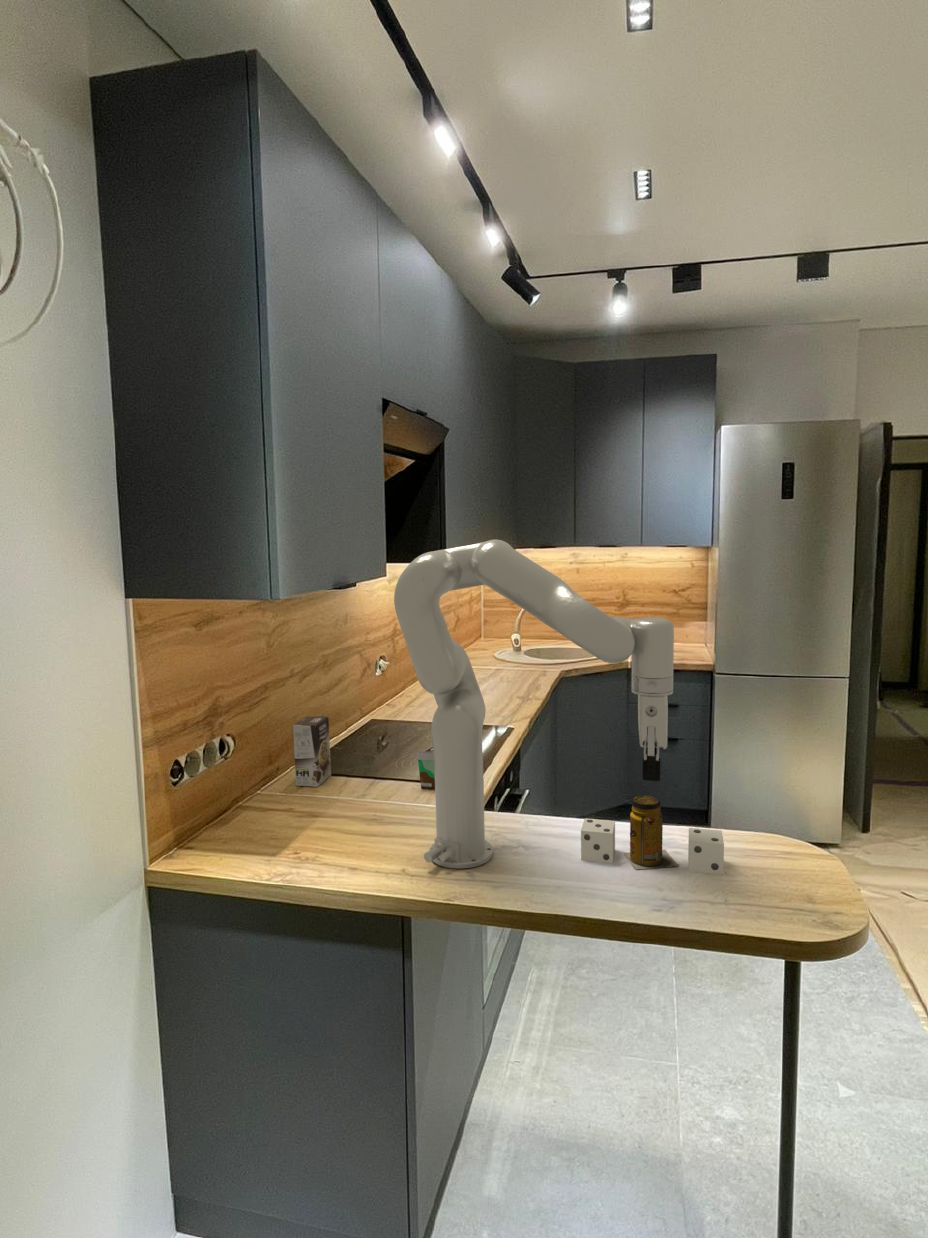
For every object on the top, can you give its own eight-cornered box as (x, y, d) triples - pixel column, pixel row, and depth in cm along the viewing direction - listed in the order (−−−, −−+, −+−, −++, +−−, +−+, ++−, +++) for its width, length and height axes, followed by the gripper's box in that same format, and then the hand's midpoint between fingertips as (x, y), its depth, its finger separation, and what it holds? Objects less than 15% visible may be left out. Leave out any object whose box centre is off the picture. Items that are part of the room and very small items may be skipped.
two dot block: (723, 875, 132) (724, 843, 131) (689, 872, 134) (689, 840, 133) (721, 860, 138) (721, 830, 137) (688, 857, 140) (688, 827, 139)
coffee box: (318, 787, 182) (315, 725, 180) (295, 786, 184) (291, 724, 182) (332, 775, 191) (329, 715, 189) (309, 774, 193) (306, 715, 191)
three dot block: (612, 863, 138) (612, 833, 137) (581, 860, 139) (580, 830, 139) (615, 850, 144) (615, 820, 143) (584, 847, 145) (584, 818, 144)
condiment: (623, 853, 142) (623, 794, 140) (665, 850, 143) (665, 792, 141) (635, 870, 135) (635, 809, 133) (679, 867, 135) (680, 806, 134)
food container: (436, 795, 175) (435, 755, 174) (417, 790, 179) (415, 751, 178) (466, 780, 185) (466, 742, 184) (448, 776, 189) (447, 738, 187)
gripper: (673, 694, 126) (672, 795, 129) (673, 676, 140) (671, 768, 143) (629, 692, 128) (628, 792, 131) (633, 675, 143) (633, 765, 145)
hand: (651, 779), depth 137 cm, fingers closed
